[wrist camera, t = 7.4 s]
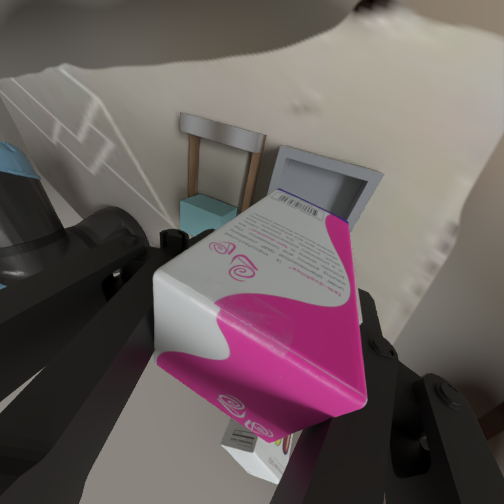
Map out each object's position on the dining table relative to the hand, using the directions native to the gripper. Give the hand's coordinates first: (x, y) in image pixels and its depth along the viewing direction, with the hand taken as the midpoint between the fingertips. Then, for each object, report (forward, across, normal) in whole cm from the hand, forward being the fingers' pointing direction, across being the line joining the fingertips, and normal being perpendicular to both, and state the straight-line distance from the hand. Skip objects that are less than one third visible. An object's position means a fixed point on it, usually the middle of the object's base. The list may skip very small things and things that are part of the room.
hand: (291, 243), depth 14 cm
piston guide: (+14, +14, +2) cm, 20 cm away
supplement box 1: (+2, 0, 0) cm, 2 cm away
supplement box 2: (+14, -8, +43) cm, 46 cm away
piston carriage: (+14, +14, +7) cm, 21 cm away
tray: (+14, 0, 0) cm, 14 cm away
